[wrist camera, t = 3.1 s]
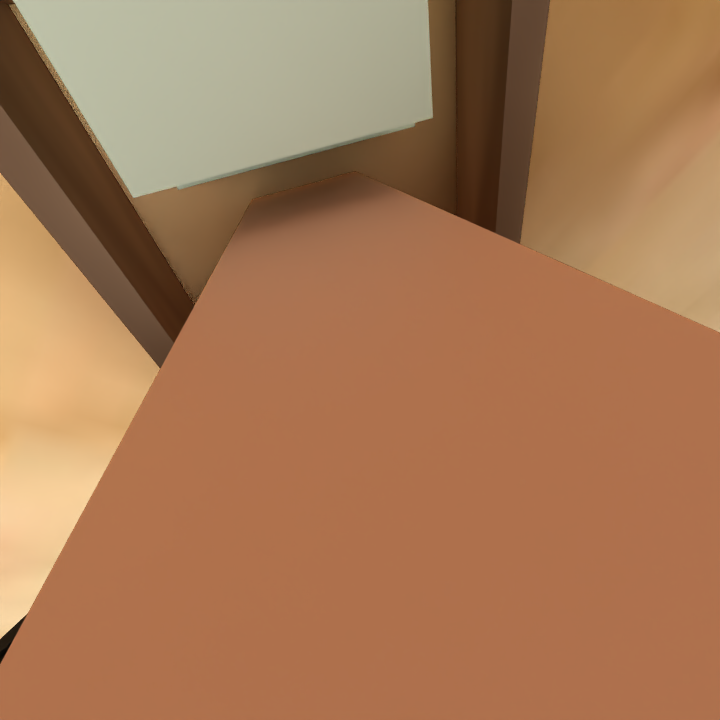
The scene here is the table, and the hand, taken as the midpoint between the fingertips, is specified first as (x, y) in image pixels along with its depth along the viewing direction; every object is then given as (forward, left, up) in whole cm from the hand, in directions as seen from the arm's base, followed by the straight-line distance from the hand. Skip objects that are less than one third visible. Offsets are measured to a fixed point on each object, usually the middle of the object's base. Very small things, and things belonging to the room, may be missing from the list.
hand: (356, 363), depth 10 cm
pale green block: (0, -8, -5) cm, 9 cm away
